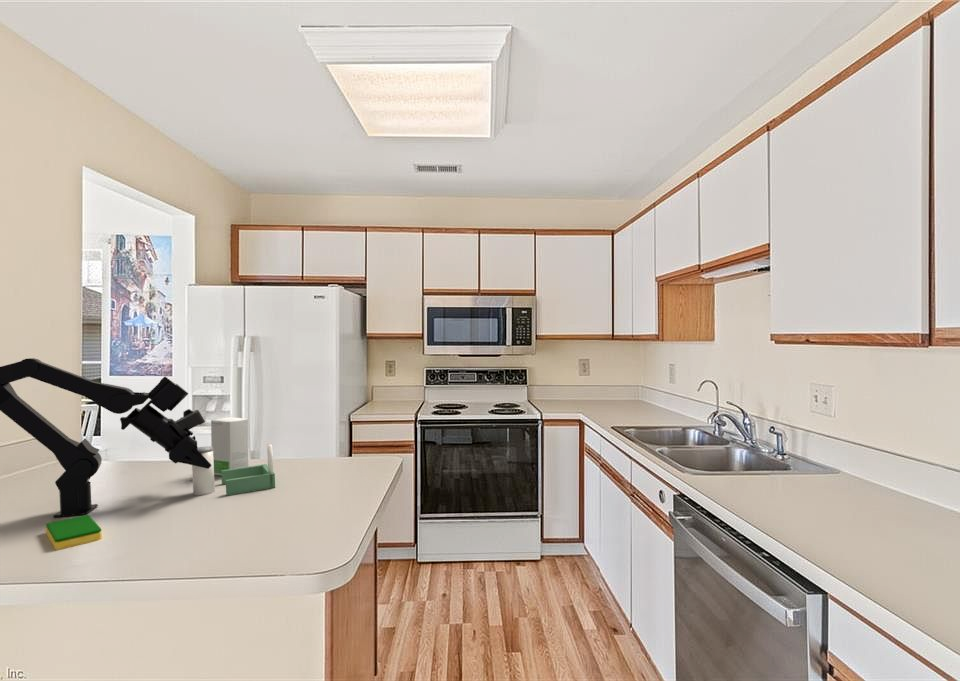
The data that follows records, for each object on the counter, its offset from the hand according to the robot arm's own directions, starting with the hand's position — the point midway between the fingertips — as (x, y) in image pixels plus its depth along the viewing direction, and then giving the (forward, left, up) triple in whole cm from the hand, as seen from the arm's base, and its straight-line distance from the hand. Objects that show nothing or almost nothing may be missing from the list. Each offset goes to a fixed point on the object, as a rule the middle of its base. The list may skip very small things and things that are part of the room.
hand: (209, 465), depth 137 cm
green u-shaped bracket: (+2, -8, -7) cm, 11 cm away
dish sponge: (-25, +20, -7) cm, 33 cm away
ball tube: (0, +1, -7) cm, 7 cm away
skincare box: (+19, -2, -7) cm, 20 cm away
